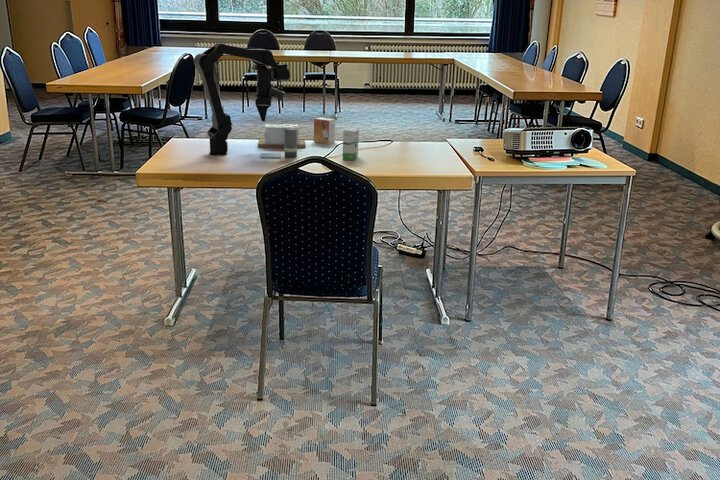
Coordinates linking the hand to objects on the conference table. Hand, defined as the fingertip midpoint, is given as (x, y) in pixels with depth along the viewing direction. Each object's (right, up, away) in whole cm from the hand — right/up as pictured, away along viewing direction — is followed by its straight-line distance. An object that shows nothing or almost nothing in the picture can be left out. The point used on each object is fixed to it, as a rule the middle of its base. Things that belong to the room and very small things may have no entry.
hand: (263, 119), depth 285 cm
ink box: (+36, -17, -5) cm, 40 cm away
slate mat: (+4, -16, -8) cm, 18 cm away
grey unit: (+6, -9, +14) cm, 17 cm away
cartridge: (+12, -16, -7) cm, 21 cm away
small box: (+24, -6, +24) cm, 34 cm away
